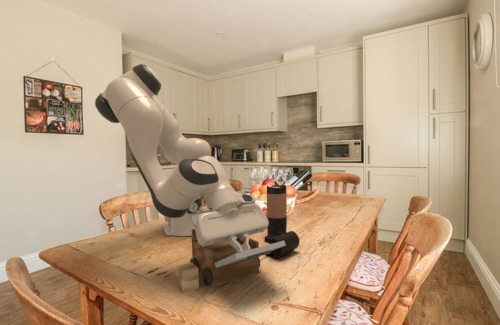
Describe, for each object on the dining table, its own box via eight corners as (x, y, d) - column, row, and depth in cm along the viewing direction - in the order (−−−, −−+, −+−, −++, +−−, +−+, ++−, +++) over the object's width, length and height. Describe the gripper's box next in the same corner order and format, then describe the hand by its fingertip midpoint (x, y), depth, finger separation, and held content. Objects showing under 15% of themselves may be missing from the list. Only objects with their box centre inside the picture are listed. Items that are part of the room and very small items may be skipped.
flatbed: (189, 269, 77) (188, 229, 77) (236, 256, 86) (236, 220, 86) (210, 288, 66) (209, 242, 66) (261, 271, 75) (261, 230, 75)
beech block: (177, 286, 68) (176, 266, 68) (192, 281, 70) (191, 262, 70) (183, 292, 65) (182, 272, 64) (198, 287, 67) (198, 268, 67)
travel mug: (286, 241, 99) (285, 187, 98) (265, 240, 101) (265, 187, 100) (287, 235, 107) (287, 185, 106) (268, 234, 108) (267, 184, 107)
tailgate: (214, 262, 66) (235, 253, 58) (260, 250, 74) (284, 240, 66) (216, 270, 65) (237, 262, 57) (262, 256, 73) (286, 247, 65)
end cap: (281, 261, 82) (281, 239, 82) (263, 255, 87) (263, 235, 87) (299, 252, 89) (299, 232, 89) (282, 247, 94) (282, 228, 94)
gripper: (191, 204, 66) (211, 257, 59) (258, 195, 78) (281, 237, 71) (185, 218, 70) (202, 269, 63) (249, 207, 82) (270, 248, 74)
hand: (245, 252), depth 67 cm, fingers closed, pressing on tailgate
